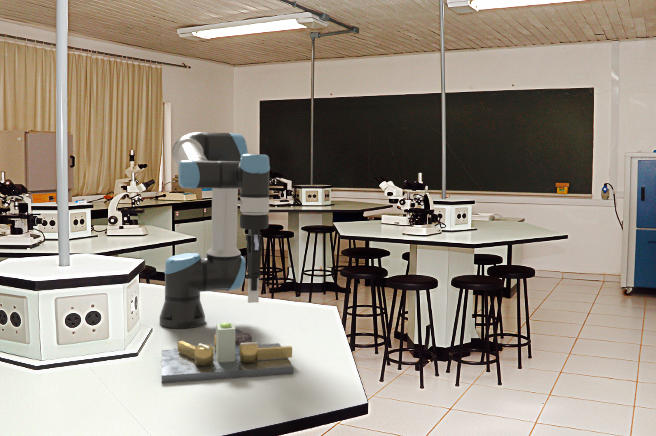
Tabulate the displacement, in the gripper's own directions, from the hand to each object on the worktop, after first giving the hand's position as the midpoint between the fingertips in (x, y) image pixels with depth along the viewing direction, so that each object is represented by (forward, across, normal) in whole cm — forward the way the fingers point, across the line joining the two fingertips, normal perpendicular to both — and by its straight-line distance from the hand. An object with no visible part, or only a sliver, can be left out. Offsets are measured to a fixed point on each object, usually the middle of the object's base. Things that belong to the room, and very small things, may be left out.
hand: (253, 301), depth 161 cm
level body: (+17, -7, -7) cm, 20 cm away
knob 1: (+17, -8, -15) cm, 24 cm away
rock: (+19, -24, -4) cm, 31 cm away
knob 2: (+17, -4, +4) cm, 18 cm away
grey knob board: (+19, -7, -7) cm, 21 cm away
